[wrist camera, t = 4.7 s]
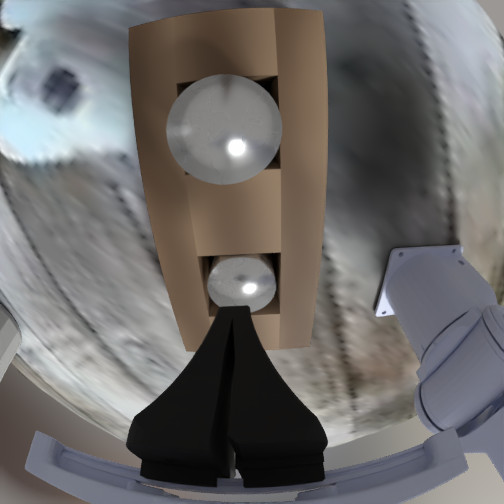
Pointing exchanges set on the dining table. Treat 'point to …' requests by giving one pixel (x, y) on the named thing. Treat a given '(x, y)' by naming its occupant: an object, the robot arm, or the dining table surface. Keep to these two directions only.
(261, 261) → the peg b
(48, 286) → the dining table surface
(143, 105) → the walnut frame
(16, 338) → the jar
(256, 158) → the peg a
